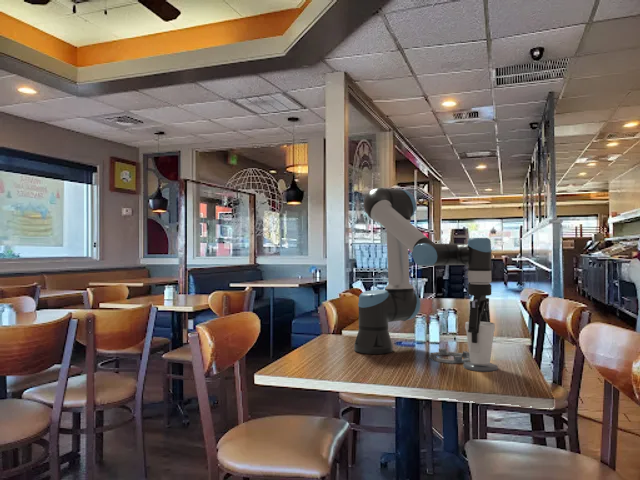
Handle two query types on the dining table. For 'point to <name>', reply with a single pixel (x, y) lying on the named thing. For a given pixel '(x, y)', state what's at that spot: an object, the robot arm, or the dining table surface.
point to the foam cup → (482, 342)
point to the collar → (444, 352)
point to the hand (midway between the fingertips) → (480, 349)
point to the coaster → (480, 367)
